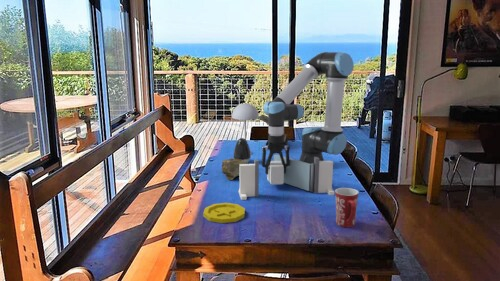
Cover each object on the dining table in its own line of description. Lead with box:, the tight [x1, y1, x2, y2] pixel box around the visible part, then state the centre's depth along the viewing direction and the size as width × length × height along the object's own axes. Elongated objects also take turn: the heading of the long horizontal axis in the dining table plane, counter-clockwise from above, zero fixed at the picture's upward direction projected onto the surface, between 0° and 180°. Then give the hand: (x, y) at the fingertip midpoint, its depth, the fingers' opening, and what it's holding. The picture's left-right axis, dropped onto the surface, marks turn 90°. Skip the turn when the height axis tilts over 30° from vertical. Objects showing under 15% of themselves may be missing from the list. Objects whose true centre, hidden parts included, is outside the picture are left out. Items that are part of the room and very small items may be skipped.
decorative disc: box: [203, 202, 246, 224], centre depth 172 cm, size 17×18×2 cm
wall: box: [238, 157, 336, 201], centre depth 194 cm, size 44×10×17 cm, turn 98°
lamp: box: [231, 102, 259, 155], centre depth 264 cm, size 17×17×33 cm
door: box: [273, 154, 314, 193], centre depth 204 cm, size 26×3×14 cm, turn 41°
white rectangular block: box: [269, 160, 284, 185], centre depth 204 cm, size 6×10×9 cm, turn 4°
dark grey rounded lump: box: [232, 137, 252, 164], centre depth 244 cm, size 10×10×15 cm
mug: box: [334, 187, 360, 228], centre depth 160 cm, size 13×9×14 cm
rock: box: [221, 158, 248, 181], centre depth 220 cm, size 19×10×10 cm
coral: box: [258, 114, 289, 150], centre depth 287 cm, size 25×20×22 cm
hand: (275, 179), depth 205 cm, fingers closed on white rectangular block, 6 cm apart
